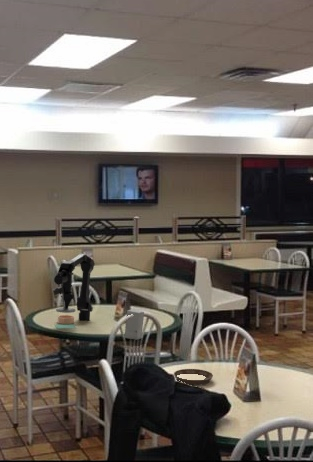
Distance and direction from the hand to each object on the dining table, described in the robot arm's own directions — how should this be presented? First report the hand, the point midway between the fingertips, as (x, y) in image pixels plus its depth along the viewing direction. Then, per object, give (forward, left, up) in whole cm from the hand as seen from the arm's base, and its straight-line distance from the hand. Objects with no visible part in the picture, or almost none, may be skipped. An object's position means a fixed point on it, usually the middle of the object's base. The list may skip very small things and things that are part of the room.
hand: (65, 308), depth 378 cm
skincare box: (-35, +31, -12) cm, 48 cm away
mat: (0, 0, -12) cm, 12 cm away
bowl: (-2, -12, -12) cm, 17 cm away
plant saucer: (-42, +113, -12) cm, 121 cm away
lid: (0, 0, -2) cm, 2 cm away
